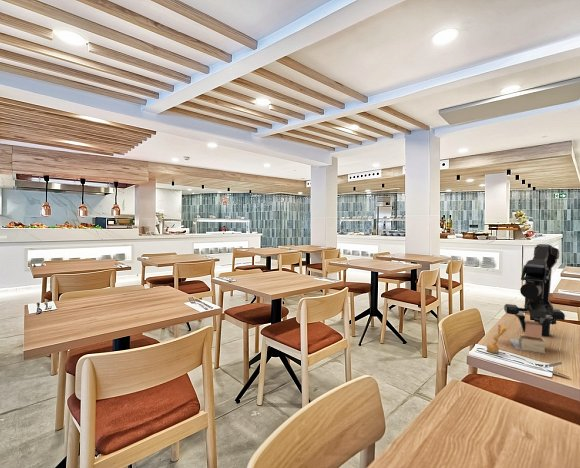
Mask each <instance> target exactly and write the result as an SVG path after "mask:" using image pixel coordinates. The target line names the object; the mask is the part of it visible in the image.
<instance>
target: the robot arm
mask: <svg viewBox="0 0 580 468" xmlns="http://www.w3.org/2000/svg"><path fill="white" fill-rule="evenodd" d="M559 259H560V250H559V249H558V248H556V247H554V246H553V245H551V244H544V243H542V244H541V243H539V244H536V246H535V247H534V251H533V257H532V259H530V260H527V261H526V263H525V264H524V265H523V269H522V273H521V277H520V280H521V281H525V283H524V284H523V285H521V286H520V289H519V292H520V294H521V295H522V296H523V298H524V304H523V305H524V306H523V307H519V306H517V305H516V304H511V303H510V304H509V303H505V304H504V306H503V308H504V309H503V310H504V312H505V313H506V314H509V315H514V316H515V317H517V318H518V321H519V323H520V327H521V329H522V333H523V332H525V321H526V319H525V318H526V316H525V315H524V314H529V321H534V322H539V323H540V324H541V325H542V336H541V337H548V338H549V337H550V338H552V335H551V325H557V320H560V321H565V320H566V314H565V313H564V312H563V311H562V310H560V309H558V308H554V306H553V304H552V303H551V301H550V295H551V284H552V283H551V281H552V269H553V268H554V267H555V265H556V264H558V260H559Z"/></svg>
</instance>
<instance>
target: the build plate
mask: <svg viewBox="0 0 580 468" xmlns="http://www.w3.org/2000/svg"><path fill="white" fill-rule="evenodd" d="M508 340H510V343H511V344H512V345H513V347H514V349H515V350H516V349H517V350H520V351H521V350H523V351H525V350H524V349H522V347H521V346H520V345H519V343H518V342H519V339H517V338H508ZM526 351H529V352H532V351H531V350H526ZM533 352H535V353H538V352H537V351H533ZM539 353H542V354H547V352H546V351H545V352H539Z"/></svg>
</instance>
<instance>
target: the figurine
mask: <svg viewBox="0 0 580 468" xmlns="http://www.w3.org/2000/svg"><path fill="white" fill-rule="evenodd" d="M497 327H498V329H497V331H498V333H497V334H495V335H494V337H493V342H489V343H488V344H487V345H486V350H487V351H488V352H489V353H490V354H498V353H499V351H500V349H499V345H498V342H499V338H500V337H501V336H503V334H504V333H505V332H506V331H507V327H506V326H504V325H501V324H500V323H498V324H497Z"/></svg>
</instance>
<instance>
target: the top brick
mask: <svg viewBox="0 0 580 468" xmlns="http://www.w3.org/2000/svg"><path fill="white" fill-rule="evenodd" d="M522 334H525V336H528V337H535V338H541V339H542V337H543V336H542V325H541V324H540V323H539V322H534V320H525V332H523V331H522Z"/></svg>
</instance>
